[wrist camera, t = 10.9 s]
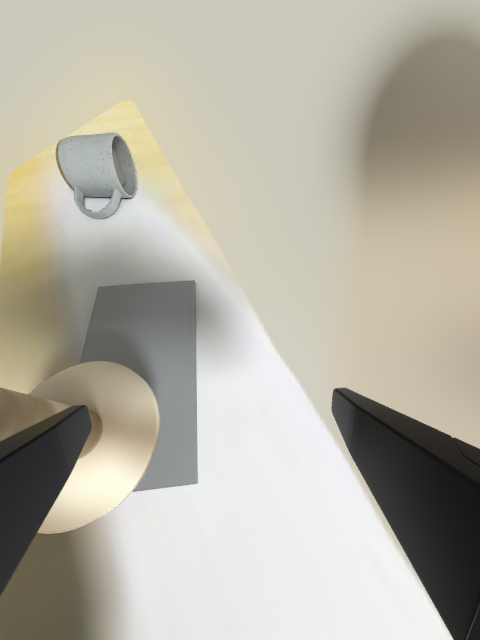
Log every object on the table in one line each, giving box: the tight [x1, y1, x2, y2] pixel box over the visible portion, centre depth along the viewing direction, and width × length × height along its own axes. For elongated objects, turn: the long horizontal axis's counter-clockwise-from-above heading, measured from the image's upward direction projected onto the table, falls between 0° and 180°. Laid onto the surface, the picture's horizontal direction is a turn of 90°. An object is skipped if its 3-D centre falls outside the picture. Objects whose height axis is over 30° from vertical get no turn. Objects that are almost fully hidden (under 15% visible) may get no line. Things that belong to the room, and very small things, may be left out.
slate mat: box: [81, 280, 198, 492], centre depth 23 cm, size 20×11×1 cm, turn 6°
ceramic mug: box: [56, 133, 138, 219], centre depth 33 cm, size 11×8×8 cm
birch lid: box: [0, 361, 160, 534], centre depth 12 cm, size 10×10×10 cm
